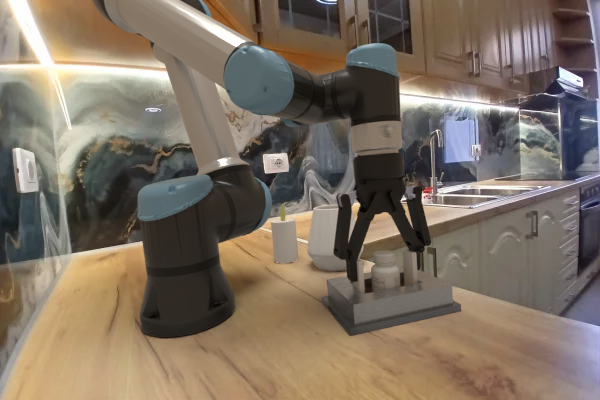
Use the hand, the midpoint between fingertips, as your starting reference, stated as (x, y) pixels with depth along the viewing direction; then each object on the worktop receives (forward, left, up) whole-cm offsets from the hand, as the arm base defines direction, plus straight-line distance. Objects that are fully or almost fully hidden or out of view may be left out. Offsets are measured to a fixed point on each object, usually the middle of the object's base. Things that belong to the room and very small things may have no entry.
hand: (386, 294), depth 51 cm
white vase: (+1, +25, -2) cm, 25 cm away
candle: (-9, +35, -2) cm, 36 cm away
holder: (0, 0, -2) cm, 2 cm away
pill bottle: (0, 0, -1) cm, 1 cm away
